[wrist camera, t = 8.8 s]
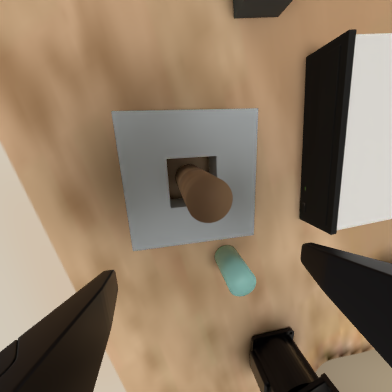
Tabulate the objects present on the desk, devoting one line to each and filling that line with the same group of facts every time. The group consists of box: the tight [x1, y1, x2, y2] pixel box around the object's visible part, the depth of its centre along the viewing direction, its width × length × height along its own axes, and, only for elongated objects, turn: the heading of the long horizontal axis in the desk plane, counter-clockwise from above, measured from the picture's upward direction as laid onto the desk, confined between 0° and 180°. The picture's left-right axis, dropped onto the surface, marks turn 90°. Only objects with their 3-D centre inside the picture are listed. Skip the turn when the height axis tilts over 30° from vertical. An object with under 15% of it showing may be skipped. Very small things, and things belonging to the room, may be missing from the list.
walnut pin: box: [175, 164, 233, 223], centre depth 15 cm, size 3×3×9 cm
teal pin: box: [215, 245, 256, 296], centre depth 20 cm, size 3×3×5 cm
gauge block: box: [111, 108, 258, 251], centre depth 18 cm, size 12×12×3 cm
